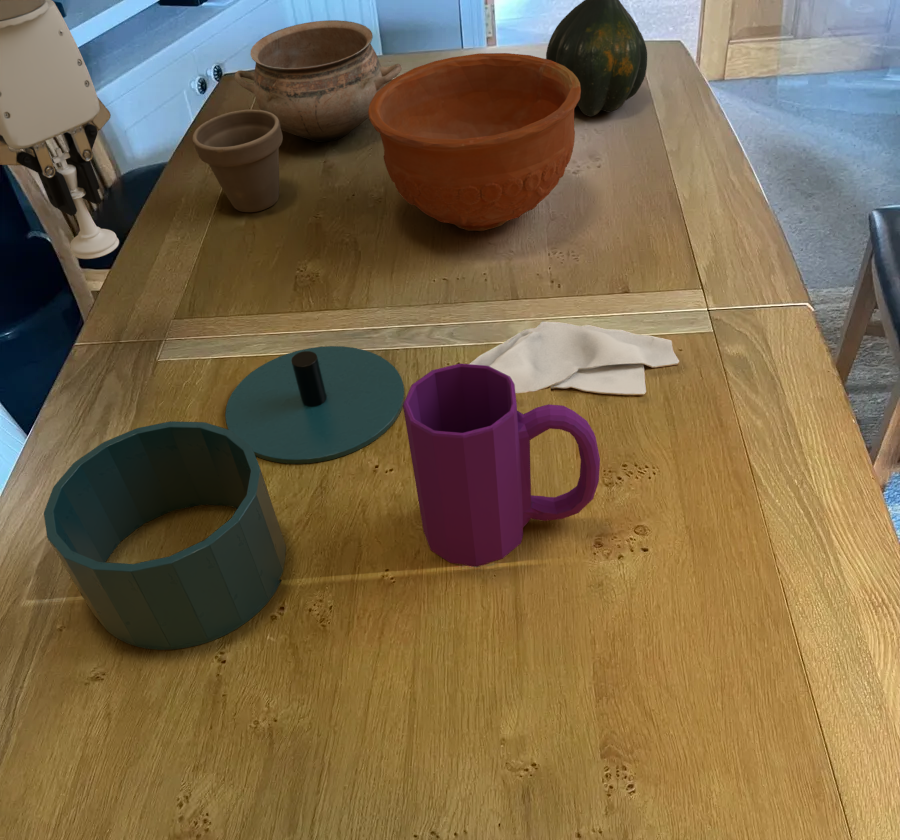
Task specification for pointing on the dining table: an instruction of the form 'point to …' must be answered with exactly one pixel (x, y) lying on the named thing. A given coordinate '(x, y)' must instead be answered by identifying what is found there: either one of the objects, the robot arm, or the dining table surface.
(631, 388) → the cloth
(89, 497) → the pot
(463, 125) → the bowl
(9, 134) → the robot arm
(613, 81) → the squash
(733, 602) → the dining table surface
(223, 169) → the flower pot
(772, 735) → the dining table surface
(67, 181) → the chess piece
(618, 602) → the dining table surface
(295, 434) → the lid
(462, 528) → the mug
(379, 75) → the cooking pot
